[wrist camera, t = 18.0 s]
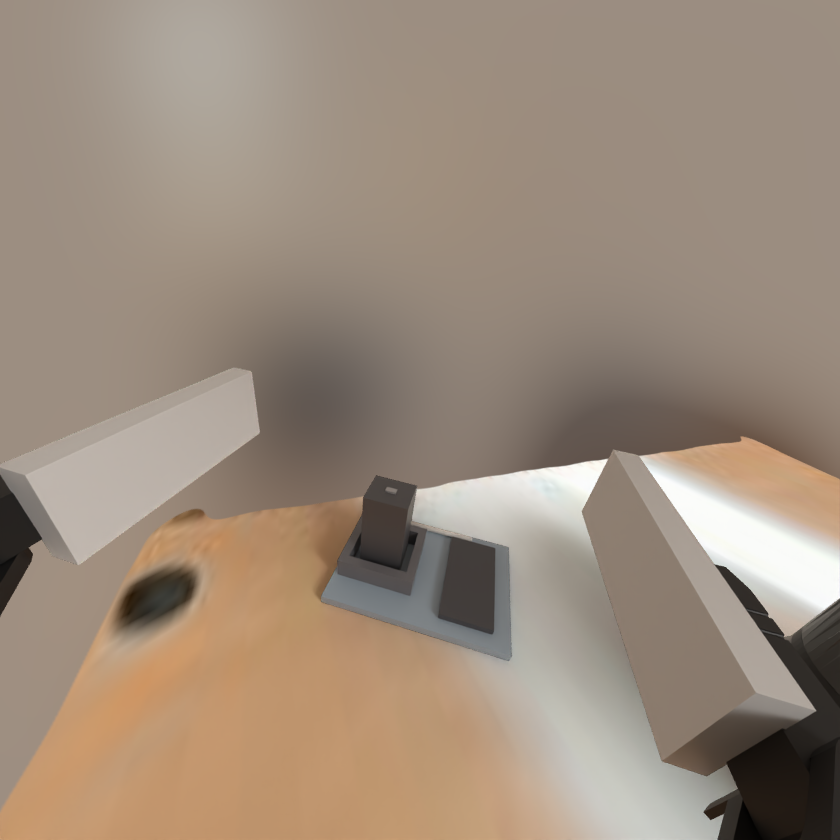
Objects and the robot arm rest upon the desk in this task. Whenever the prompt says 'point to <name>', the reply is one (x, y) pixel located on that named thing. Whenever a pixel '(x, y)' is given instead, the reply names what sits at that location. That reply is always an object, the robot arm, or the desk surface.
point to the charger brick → (386, 521)
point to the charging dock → (432, 588)
